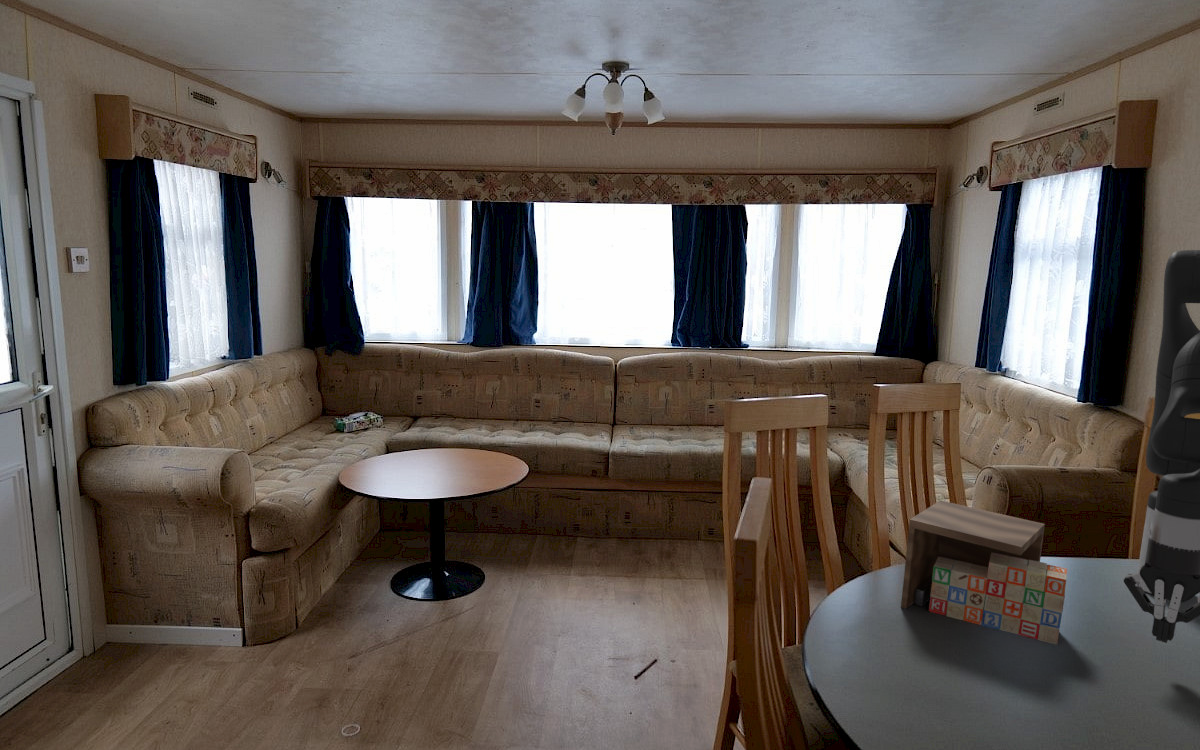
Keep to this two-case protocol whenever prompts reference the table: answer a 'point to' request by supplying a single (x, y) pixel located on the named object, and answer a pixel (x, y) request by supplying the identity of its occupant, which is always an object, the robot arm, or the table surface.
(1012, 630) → the stack of blocks
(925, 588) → the registration seat
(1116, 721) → the table surface
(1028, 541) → the overhang shelf
